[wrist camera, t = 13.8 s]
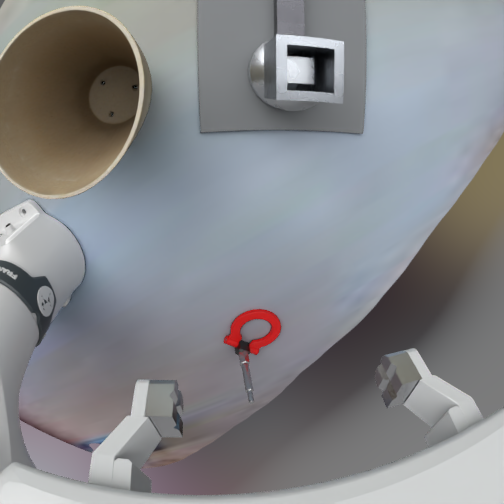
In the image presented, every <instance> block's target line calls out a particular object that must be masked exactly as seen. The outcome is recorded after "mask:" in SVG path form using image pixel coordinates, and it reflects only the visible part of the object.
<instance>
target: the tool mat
mask: <svg viewBox="0 0 504 504" xmlns="http://www.w3.org/2000/svg"><path fill="white" fill-rule="evenodd" d="M304 22H305V36H306V37H315V38H323V39H331V40H337V41H344V92H343V104H339V103H328V102H319V103H317V104H316V105H314V106H312V107H310V108H308V109H305V110H300V111H287V110H282V109H279V108H275V107H273V106H270V105H268V104H267V103H265V102H264V101H262V100H261V99H260V98H259V97H258V96H257V95H256V94H255V92H254V91H253V89H252V87H251V85H250V82H249V78H248V66H249V62H250V59H251V57H252V55H253V54H254V52H255V51H256V50H257V49H258V48H259V47H260V46H261V45H262V44H263V43H264V42H265V41H267V40H268V39H270V38H272V37H274V0H198V75H199V104H200V127H201V133H202V132H217V131H239V130H311V131H333V132H348V133H361V134H363V128H364V113H365V92H366V17H365V0H304Z"/></svg>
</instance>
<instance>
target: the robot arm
mask: <svg viewBox="0 0 504 504" xmlns="http://www.w3.org/2000/svg"><path fill="white" fill-rule="evenodd" d="M24 209H25V210H26V212H25V211H24ZM84 274H85V260H84V256H83V252H82V250H81V247H80V245H79V243H78V241H77V240H76V238H75V237H74V235H73V234H72V233H71V232H70V230H69V229H68V228H67V227H66V226H65V225H63V224H62V223H61V222H59V221H58V220H56V219H55V218H53V217H51V216H49V215H48V214H46V213H45V212H44V211H43V210H42V209H41V208H40V206H39V205H38V204H37V203H36V202H35V201H33V200H31V199H29V200H27V201H25V202H23V203H21V204H19V205H17V206H15V207H13V208H11V209H9V210H7V211H5V212H4V213H2V214H0V504H504V406H503V407H502V408H500V409H499V410H497V411H496V412H494V413H492V414H491V415H489V416H488V417H486V418H483V417H482V415H481V413H480V411H479V409H478V407H477V406H476V404H475V402H474V400H473V399H472V397H470V396H469V395H467V394H465V393H464V392H462V391H460V390H459V389H457V388H455V387H454V386H452V385H450V384H449V383H447V382H445V381H444V380H442V379H440V378H439V377H437V376H435V375H433V376H432V375H431V373H430V371H429V370H428V368H427V366H426V364H425V363H424V361H423V359H422V358H421V356H420V354H419V353H418V351H417V350H416V349H414V348H412V349H409V350H405V351H400V352H396V353H393V354H388V355H385V356H383V357H382V359H381V363H382V364H381V365H380V366H379V367H378V368H377V370H376V372H375V381H376V384H377V387H378V388H379V389H380V390H382V391H383V394H382V398H383V400H384V402H385V405H386V407H387V408H390V407H394V406H397V405H400V404H404V405H405V406H406V407H407V408H408V409H410V410H411V411H412V412H413V413H414V414H415V415H417V416H418V417H419V418H420V419H422V420H423V421H424V422H425V423H426V424H428V425H429V426H430V427H431V429H430V430H429V431H428V432H427V433H426V434H425V437H424V438H425V440H426V443H427V445H428V448H426V449H424V450H422V451H419V452H417V453H414V454H412V455H410V456H407V457H404V458H402V459H400V460H397V461H394V462H391V463H388V464H385V465H382V466H379V467H377V468H374V469H370V470H367V471H364V472H361V473H357V474H353V475H350V476H346V477H343V478H338V479H334V480H330V481H326V482H321V483H316V484H311V485H306V486H301V487H295V488H289V489H282V490H275V491H268V492H258V493H246V494H231V495H173V494H158V493H151V479H150V478H149V477H147V476H146V475H145V474H144V473H143V472H142V471H141V470H140V469H141V468H142V466H143V465H144V463H145V462H146V461H147V459H148V458H149V456H150V455H151V453H152V452H153V450H154V449H155V448H156V446H157V445H158V443H159V442H160V440H161V439H162V438H161V437H183V422H182V419H181V417H180V416H181V415H182V414H183V398H182V394H181V391H179V390H178V383H177V380H137V382H136V385H135V391H134V397H133V404H132V410H131V416H126V417H125V419H124V420H123V421H122V422H121V423H120V424H119V425H118V426H117V427H116V428H115V429H114V431H113V432H112V433H111V434H110V435H109V436H108V437H107V438H106V439H105V440H104V441H103V443H102V444H101V445H100V446H99V447H98V448H97V449H96V450H95V451H94V452H93V454H92V460H91V466H90V474H89V481H88V483H86V482H81V481H77V480H73V479H69V478H65V477H62V476H58V475H55V474H52V473H48V472H45V471H42V470H39V469H37V468H36V467H35V465H34V463H33V462H32V460H31V458H30V456H29V454H28V451H27V449H26V446H25V444H24V440H23V436H22V432H21V427H20V420H19V393H20V387H21V383H22V380H23V377H24V374H25V371H26V368H27V365H28V363H29V360H30V358H31V355H32V353H33V351H34V348H35V347H36V346H38V345H39V344H40V343H41V341H42V339H43V338H44V337H45V335H46V332H47V330H48V328H49V326H50V324H51V322H52V321H53V319H54V318H55V317H56V315H57V314H58V312H59V311H60V309H61V308H62V307H65V306H67V304H68V303H69V301H70V299H71V294H72V292H73V291H74V290H75V289H76V288H77V287H78V286H79V285H80V284H81V282H82V280H83V278H84Z"/></svg>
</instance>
